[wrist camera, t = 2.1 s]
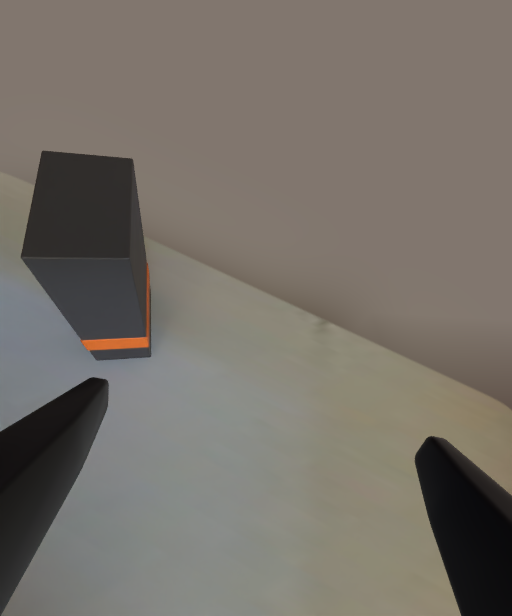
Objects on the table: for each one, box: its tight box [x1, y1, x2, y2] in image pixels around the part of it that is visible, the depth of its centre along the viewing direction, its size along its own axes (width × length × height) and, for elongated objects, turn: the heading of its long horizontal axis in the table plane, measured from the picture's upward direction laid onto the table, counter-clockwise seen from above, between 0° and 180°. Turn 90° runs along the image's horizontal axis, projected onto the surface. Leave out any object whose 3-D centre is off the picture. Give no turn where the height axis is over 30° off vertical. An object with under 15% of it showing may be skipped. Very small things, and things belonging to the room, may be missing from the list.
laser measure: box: [21, 151, 151, 360], centre depth 18 cm, size 4×6×12 cm
